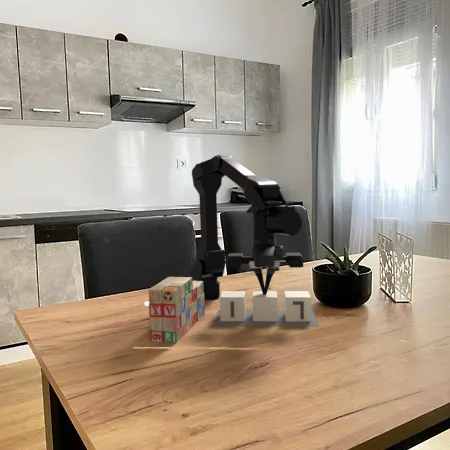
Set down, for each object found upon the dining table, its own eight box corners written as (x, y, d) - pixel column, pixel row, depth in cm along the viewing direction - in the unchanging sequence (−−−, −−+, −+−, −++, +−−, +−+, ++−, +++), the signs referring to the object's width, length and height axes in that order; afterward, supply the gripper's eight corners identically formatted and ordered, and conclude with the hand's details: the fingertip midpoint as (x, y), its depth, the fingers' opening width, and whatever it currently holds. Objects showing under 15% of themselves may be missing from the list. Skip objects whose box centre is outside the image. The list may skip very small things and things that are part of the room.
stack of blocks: (182, 314, 119) (181, 268, 117) (205, 316, 117) (204, 269, 116) (150, 343, 98) (147, 288, 97) (177, 345, 96) (175, 289, 95)
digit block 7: (285, 321, 109) (285, 297, 109) (284, 314, 115) (284, 291, 115) (310, 321, 109) (310, 297, 108) (308, 314, 115) (308, 291, 114)
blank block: (253, 321, 110) (252, 297, 110) (253, 313, 116) (253, 291, 115) (277, 321, 110) (277, 297, 109) (276, 314, 116) (276, 291, 115)
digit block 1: (220, 321, 111) (219, 297, 110) (222, 313, 117) (222, 291, 116) (244, 321, 110) (244, 297, 110) (245, 313, 116) (245, 291, 116)
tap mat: (212, 327, 107) (212, 325, 107) (218, 311, 120) (218, 309, 120) (318, 327, 105) (318, 326, 105) (312, 311, 118) (312, 310, 118)
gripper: (223, 236, 104) (224, 303, 105) (305, 235, 102) (305, 303, 104) (227, 231, 115) (228, 291, 116) (301, 230, 113) (301, 291, 115)
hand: (264, 294), depth 112 cm, fingers closed, pressing on blank block
